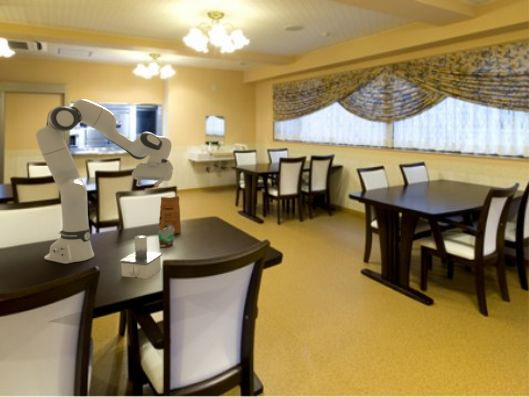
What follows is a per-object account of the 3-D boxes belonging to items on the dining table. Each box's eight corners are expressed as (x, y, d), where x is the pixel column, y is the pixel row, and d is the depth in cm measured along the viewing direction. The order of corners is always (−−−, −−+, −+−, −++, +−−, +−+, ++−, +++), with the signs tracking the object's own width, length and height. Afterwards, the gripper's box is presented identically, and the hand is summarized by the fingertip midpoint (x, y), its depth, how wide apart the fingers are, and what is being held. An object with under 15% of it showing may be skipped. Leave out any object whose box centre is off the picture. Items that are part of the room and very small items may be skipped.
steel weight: (133, 258, 169) (132, 238, 168) (139, 254, 174) (138, 234, 173) (143, 259, 168) (143, 239, 167) (149, 255, 173) (148, 235, 172)
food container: (169, 249, 204) (168, 231, 202) (158, 248, 205) (157, 230, 203) (178, 242, 216) (178, 225, 214) (168, 242, 217) (167, 224, 215)
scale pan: (119, 262, 167) (119, 260, 166) (135, 252, 179) (135, 251, 179) (147, 265, 164) (147, 263, 164) (161, 255, 176) (161, 253, 176)
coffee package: (159, 231, 238) (157, 195, 234) (179, 229, 242) (178, 194, 238) (160, 235, 229) (158, 198, 225) (181, 233, 233) (180, 197, 229)
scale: (121, 276, 168) (120, 263, 167) (137, 266, 180) (136, 253, 179) (146, 279, 165) (146, 265, 164) (160, 268, 177) (160, 256, 176)
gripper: (135, 159, 200) (125, 181, 192) (172, 160, 195) (163, 182, 188) (140, 167, 205) (131, 188, 197) (176, 168, 200) (168, 190, 193)
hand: (147, 185), depth 193 cm, fingers open, 8 cm apart
